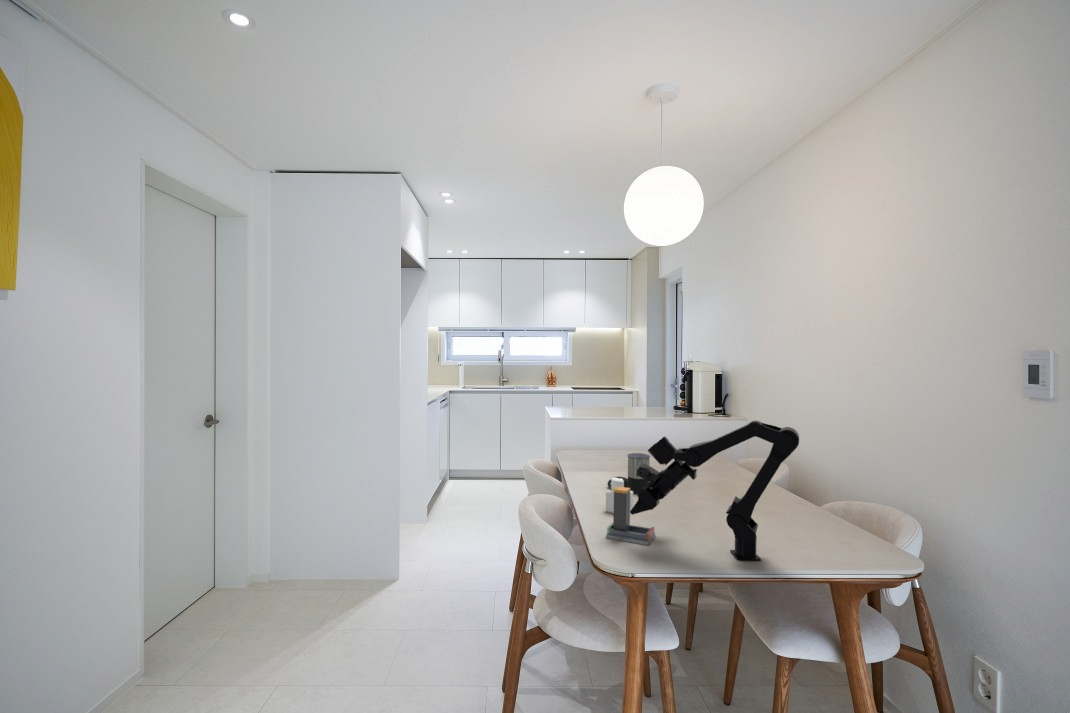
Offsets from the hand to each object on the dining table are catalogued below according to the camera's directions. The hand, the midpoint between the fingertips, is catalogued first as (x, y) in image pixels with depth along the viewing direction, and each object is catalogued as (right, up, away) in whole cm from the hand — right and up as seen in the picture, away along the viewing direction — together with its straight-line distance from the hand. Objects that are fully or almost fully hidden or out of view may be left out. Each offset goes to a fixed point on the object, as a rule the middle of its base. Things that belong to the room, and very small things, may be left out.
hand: (635, 509), depth 167 cm
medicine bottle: (-1, -8, +27) cm, 28 cm away
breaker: (-4, -7, +2) cm, 9 cm away
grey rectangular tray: (-1, -9, +1) cm, 9 cm away
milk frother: (+7, -8, +56) cm, 57 cm away
